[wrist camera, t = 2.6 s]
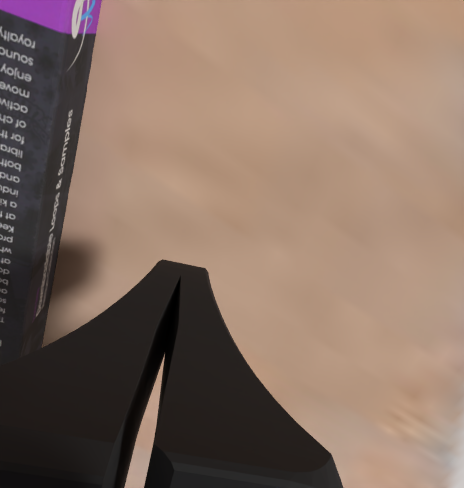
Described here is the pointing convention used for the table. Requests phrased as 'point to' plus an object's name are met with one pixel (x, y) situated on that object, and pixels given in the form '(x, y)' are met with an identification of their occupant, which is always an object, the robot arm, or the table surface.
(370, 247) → the table surface
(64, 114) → the box
